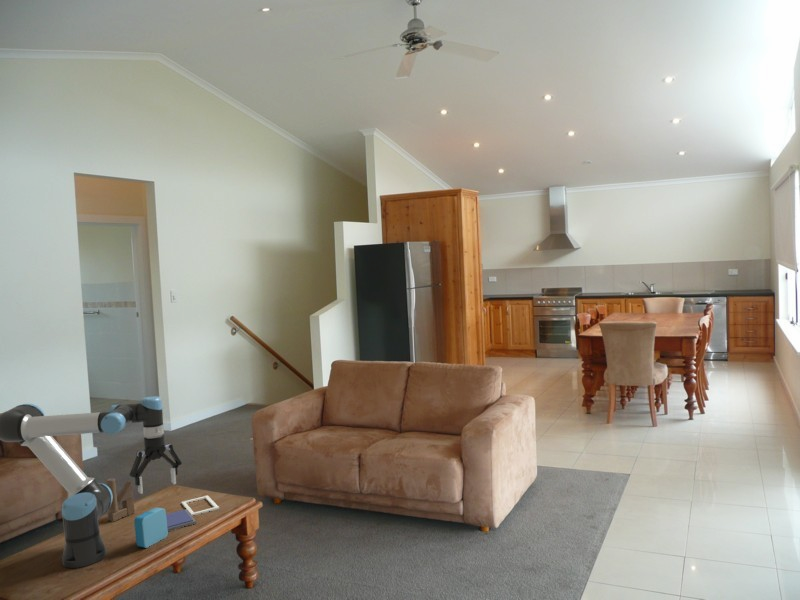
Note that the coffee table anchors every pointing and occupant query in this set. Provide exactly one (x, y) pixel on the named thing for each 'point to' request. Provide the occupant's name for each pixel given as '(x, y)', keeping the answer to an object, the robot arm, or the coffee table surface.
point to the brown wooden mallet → (120, 500)
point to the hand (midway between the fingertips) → (157, 488)
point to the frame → (202, 510)
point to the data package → (150, 527)
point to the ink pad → (179, 519)
